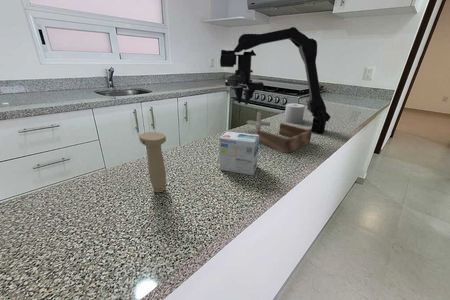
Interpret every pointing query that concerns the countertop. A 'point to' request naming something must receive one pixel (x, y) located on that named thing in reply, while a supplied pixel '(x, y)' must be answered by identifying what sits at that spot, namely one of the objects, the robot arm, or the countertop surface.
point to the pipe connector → (258, 122)
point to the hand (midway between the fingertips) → (242, 103)
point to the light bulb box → (239, 152)
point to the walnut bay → (295, 141)
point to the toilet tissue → (294, 113)
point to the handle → (155, 159)
